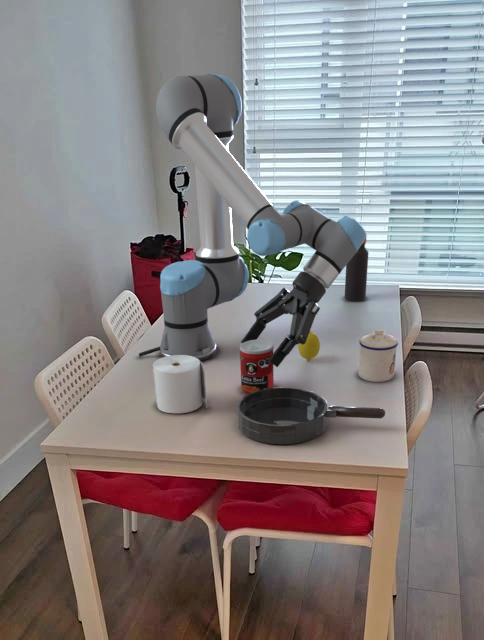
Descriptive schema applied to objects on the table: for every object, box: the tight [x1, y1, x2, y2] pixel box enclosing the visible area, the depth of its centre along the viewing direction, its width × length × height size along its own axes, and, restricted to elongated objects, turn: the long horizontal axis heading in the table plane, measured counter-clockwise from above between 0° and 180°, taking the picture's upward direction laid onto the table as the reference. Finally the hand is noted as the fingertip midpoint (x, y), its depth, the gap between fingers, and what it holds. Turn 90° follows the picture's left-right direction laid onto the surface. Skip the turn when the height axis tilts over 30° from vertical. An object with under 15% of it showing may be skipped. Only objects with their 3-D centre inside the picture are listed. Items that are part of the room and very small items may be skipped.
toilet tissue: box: [152, 355, 208, 414], centre depth 153 cm, size 11×12×10 cm
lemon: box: [297, 330, 321, 362], centre depth 174 cm, size 6×6×8 cm
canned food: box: [239, 339, 274, 395], centre depth 159 cm, size 8×8×11 cm
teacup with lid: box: [357, 328, 399, 383], centre depth 164 cm, size 12×9×12 cm
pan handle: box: [327, 404, 386, 420], centre depth 141 cm, size 12×3×2 cm, turn 81°
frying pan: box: [236, 386, 329, 445], centre depth 144 cm, size 19×19×4 cm
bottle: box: [344, 234, 369, 302], centre depth 215 cm, size 7×7×20 cm
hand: (258, 354), depth 157 cm, fingers open, 13 cm apart
